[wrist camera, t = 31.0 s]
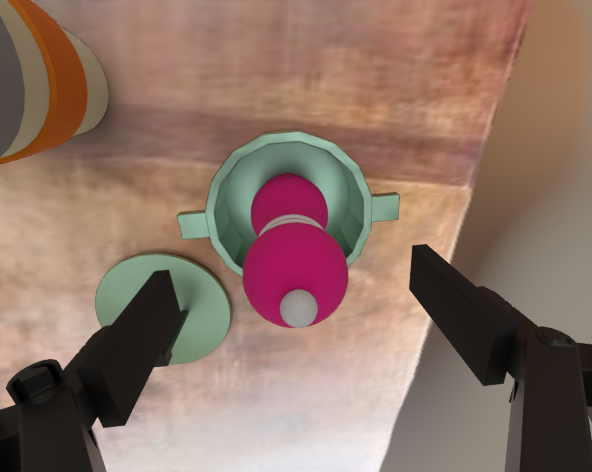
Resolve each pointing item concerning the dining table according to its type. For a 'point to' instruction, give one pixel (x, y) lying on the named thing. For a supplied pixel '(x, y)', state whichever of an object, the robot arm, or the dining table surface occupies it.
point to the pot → (280, 160)
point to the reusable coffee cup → (44, 82)
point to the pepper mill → (293, 255)
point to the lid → (191, 298)
